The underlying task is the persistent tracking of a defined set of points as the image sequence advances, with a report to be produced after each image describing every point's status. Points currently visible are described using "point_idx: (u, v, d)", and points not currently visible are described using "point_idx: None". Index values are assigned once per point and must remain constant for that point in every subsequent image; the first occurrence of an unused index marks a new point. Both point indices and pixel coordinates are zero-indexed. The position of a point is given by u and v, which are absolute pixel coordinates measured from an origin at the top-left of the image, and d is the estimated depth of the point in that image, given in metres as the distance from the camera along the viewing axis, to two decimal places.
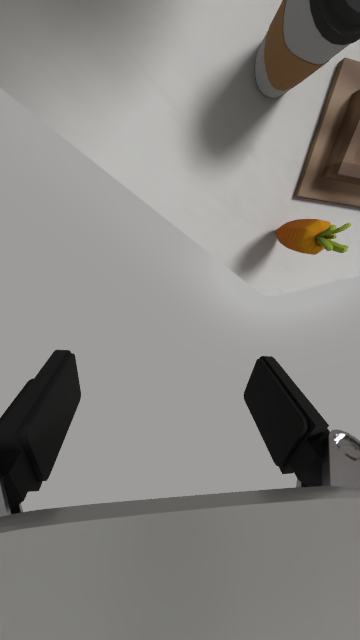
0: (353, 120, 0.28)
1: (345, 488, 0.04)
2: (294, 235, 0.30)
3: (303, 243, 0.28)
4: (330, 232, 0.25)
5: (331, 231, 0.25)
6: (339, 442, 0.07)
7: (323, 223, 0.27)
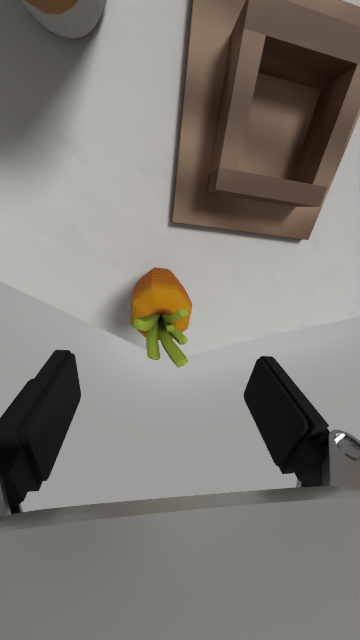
0: (229, 86, 0.14)
1: (345, 488, 0.04)
2: None
3: None
4: None
5: (141, 329, 0.11)
6: (339, 442, 0.07)
7: (160, 294, 0.14)
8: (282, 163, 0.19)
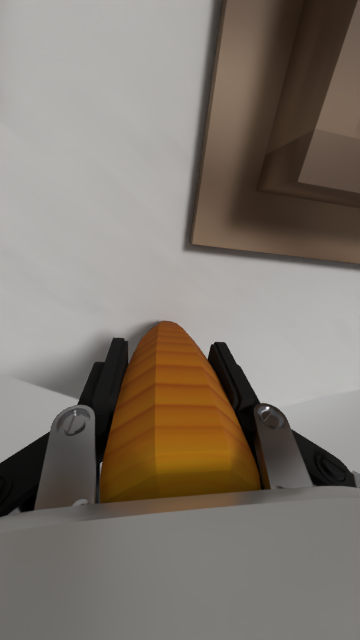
0: None
1: (345, 488, 0.04)
2: None
3: None
4: None
5: None
6: (262, 415, 0.07)
7: (183, 492, 0.04)
8: None
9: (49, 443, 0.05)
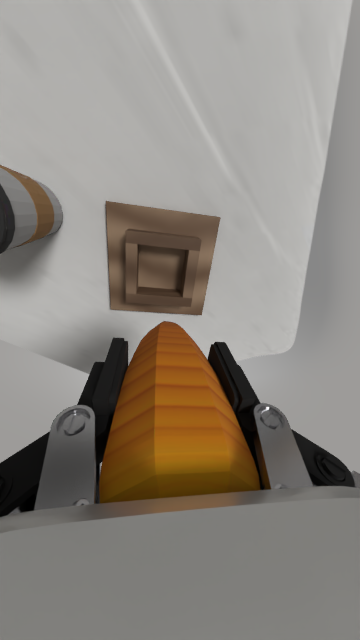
0: None
1: (345, 488, 0.04)
2: None
3: None
4: None
5: None
6: (262, 416, 0.07)
7: (182, 492, 0.04)
8: (172, 278, 0.32)
9: (49, 443, 0.05)
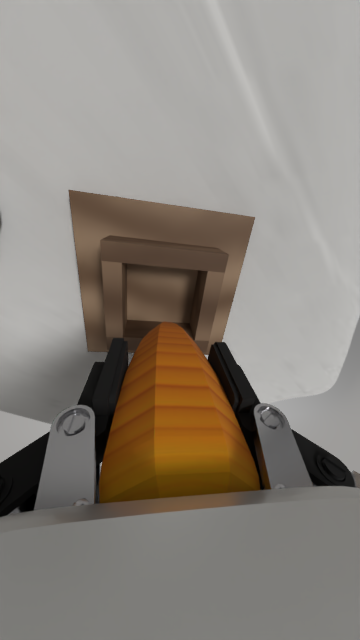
0: None
1: (345, 488, 0.04)
2: None
3: None
4: None
5: None
6: (262, 416, 0.07)
7: (182, 493, 0.04)
8: (178, 308, 0.22)
9: (49, 443, 0.05)
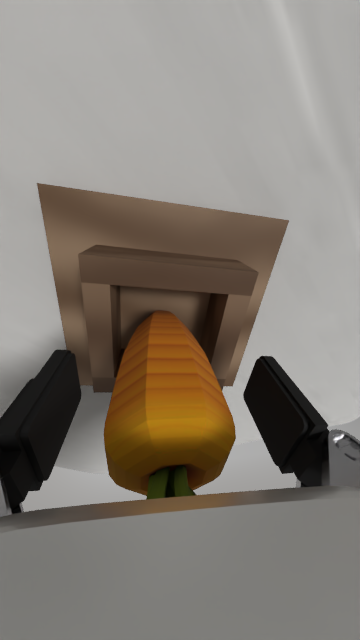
0: None
1: (345, 488, 0.04)
2: None
3: None
4: None
5: None
6: (338, 442, 0.07)
7: (168, 433, 0.06)
8: None
9: None
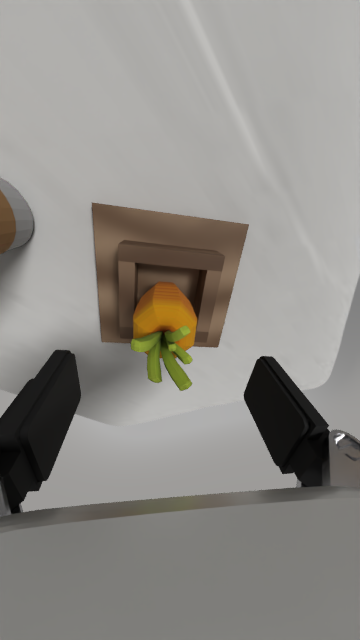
0: None
1: (345, 488, 0.04)
2: None
3: None
4: None
5: None
6: (339, 442, 0.07)
7: (162, 310, 0.13)
8: None
9: None
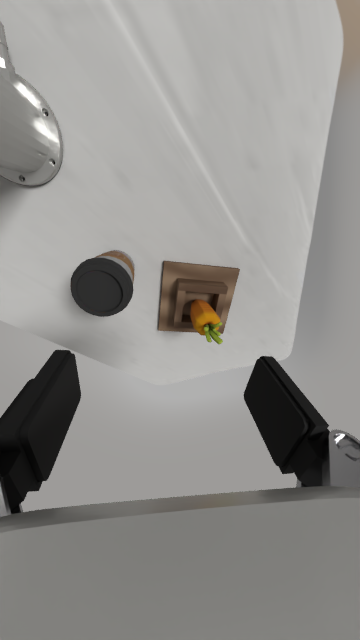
0: (176, 298, 0.40)
1: (345, 488, 0.04)
2: (192, 320, 0.36)
3: (196, 330, 0.35)
4: (206, 330, 0.31)
5: (206, 330, 0.31)
6: (339, 442, 0.07)
7: (208, 316, 0.33)
8: None
9: None
